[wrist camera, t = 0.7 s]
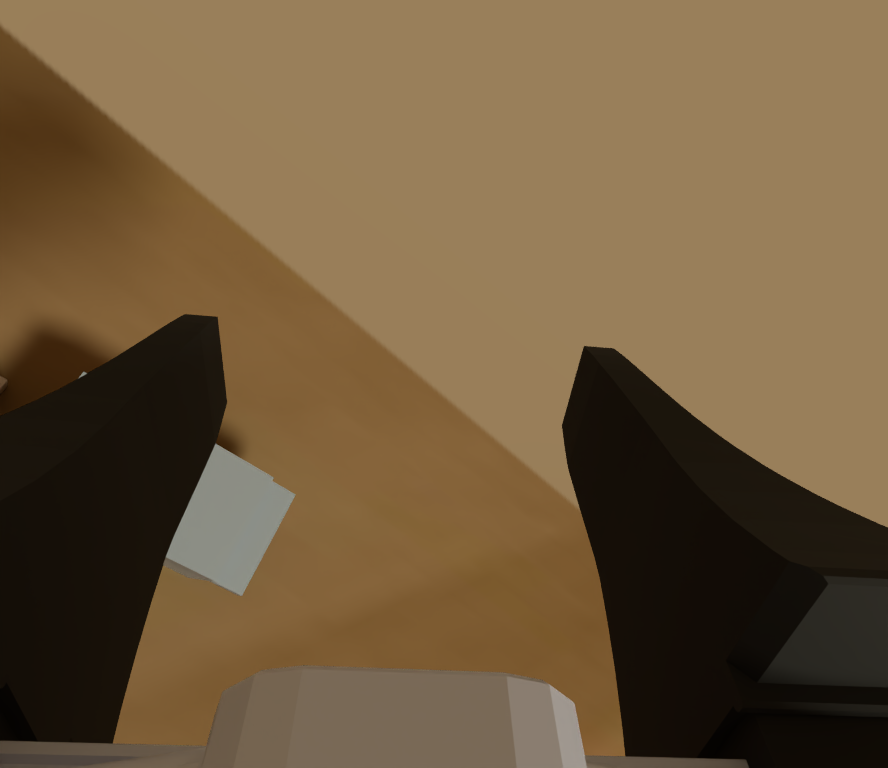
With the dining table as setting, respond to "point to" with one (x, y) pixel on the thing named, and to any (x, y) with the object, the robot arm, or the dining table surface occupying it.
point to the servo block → (227, 522)
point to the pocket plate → (3, 384)
